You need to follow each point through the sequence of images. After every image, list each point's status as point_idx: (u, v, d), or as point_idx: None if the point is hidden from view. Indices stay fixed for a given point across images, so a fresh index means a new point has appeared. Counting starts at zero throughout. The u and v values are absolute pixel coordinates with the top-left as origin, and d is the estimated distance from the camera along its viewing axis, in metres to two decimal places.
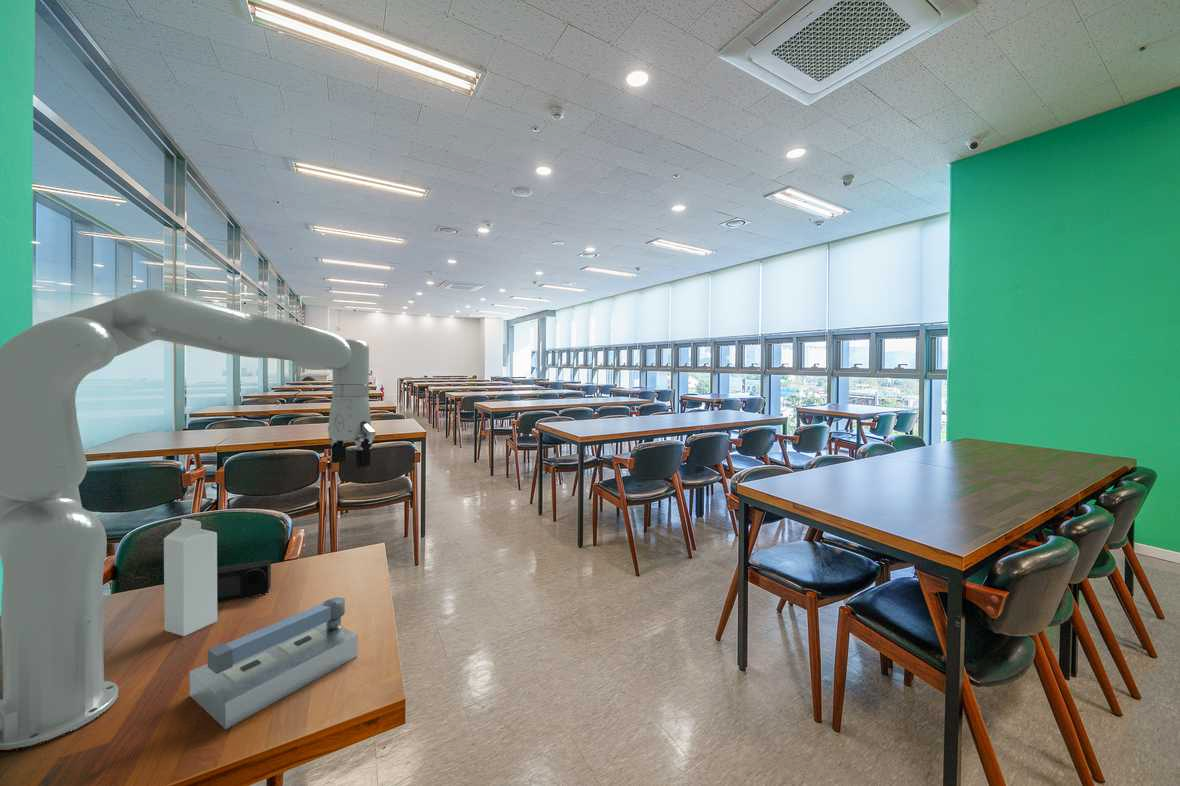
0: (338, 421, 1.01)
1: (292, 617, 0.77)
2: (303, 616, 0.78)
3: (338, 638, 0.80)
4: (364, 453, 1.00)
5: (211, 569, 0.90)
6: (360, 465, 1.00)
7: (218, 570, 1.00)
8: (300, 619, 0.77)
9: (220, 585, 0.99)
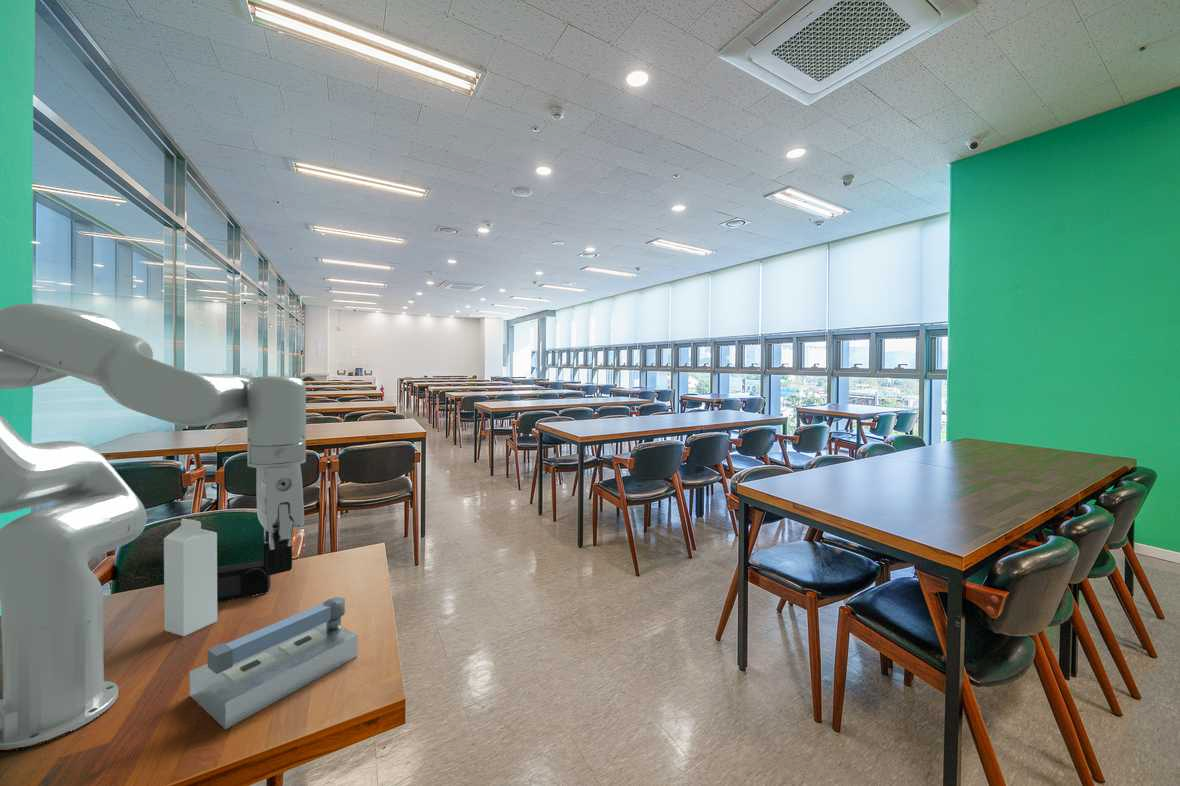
0: None
1: (292, 617, 0.77)
2: (303, 616, 0.78)
3: (338, 638, 0.80)
4: None
5: (211, 569, 0.90)
6: None
7: (218, 570, 1.00)
8: (300, 619, 0.77)
9: (220, 585, 0.99)
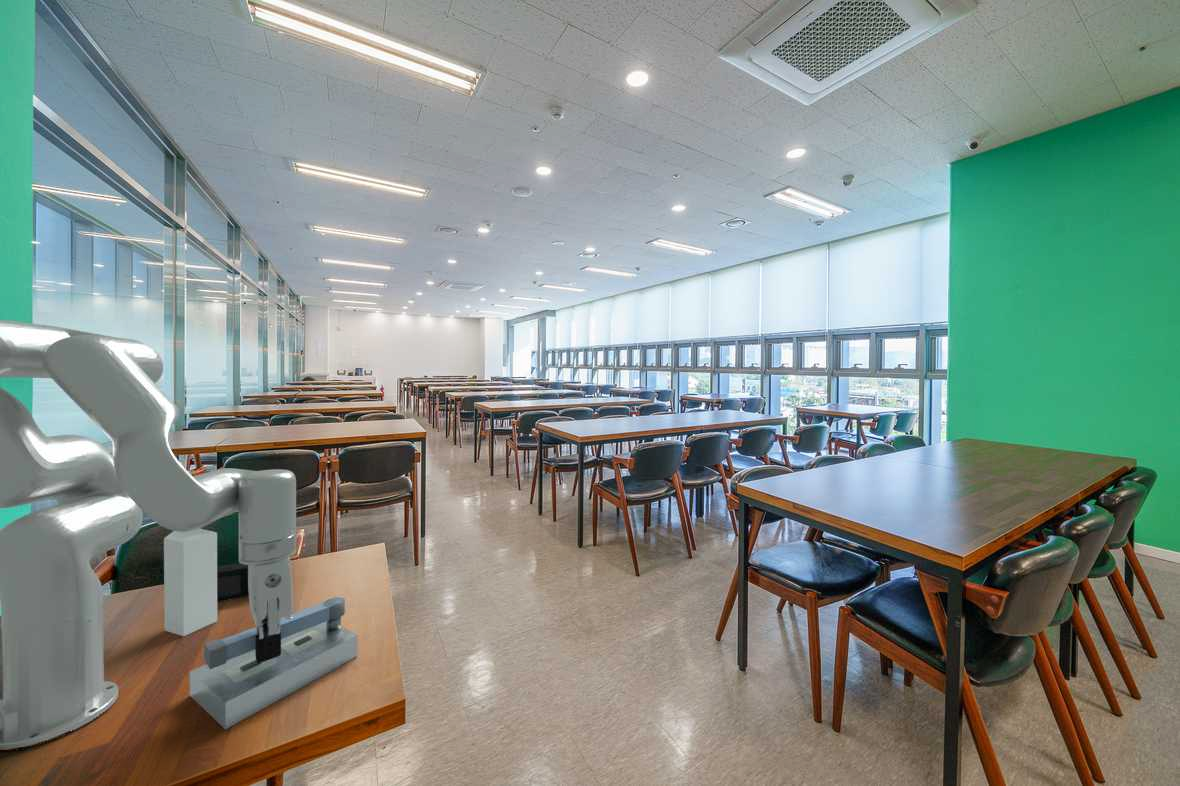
0: None
1: None
2: (301, 615, 0.78)
3: (338, 638, 0.80)
4: None
5: (211, 569, 0.90)
6: None
7: (218, 569, 1.00)
8: (297, 618, 0.77)
9: (220, 584, 0.99)
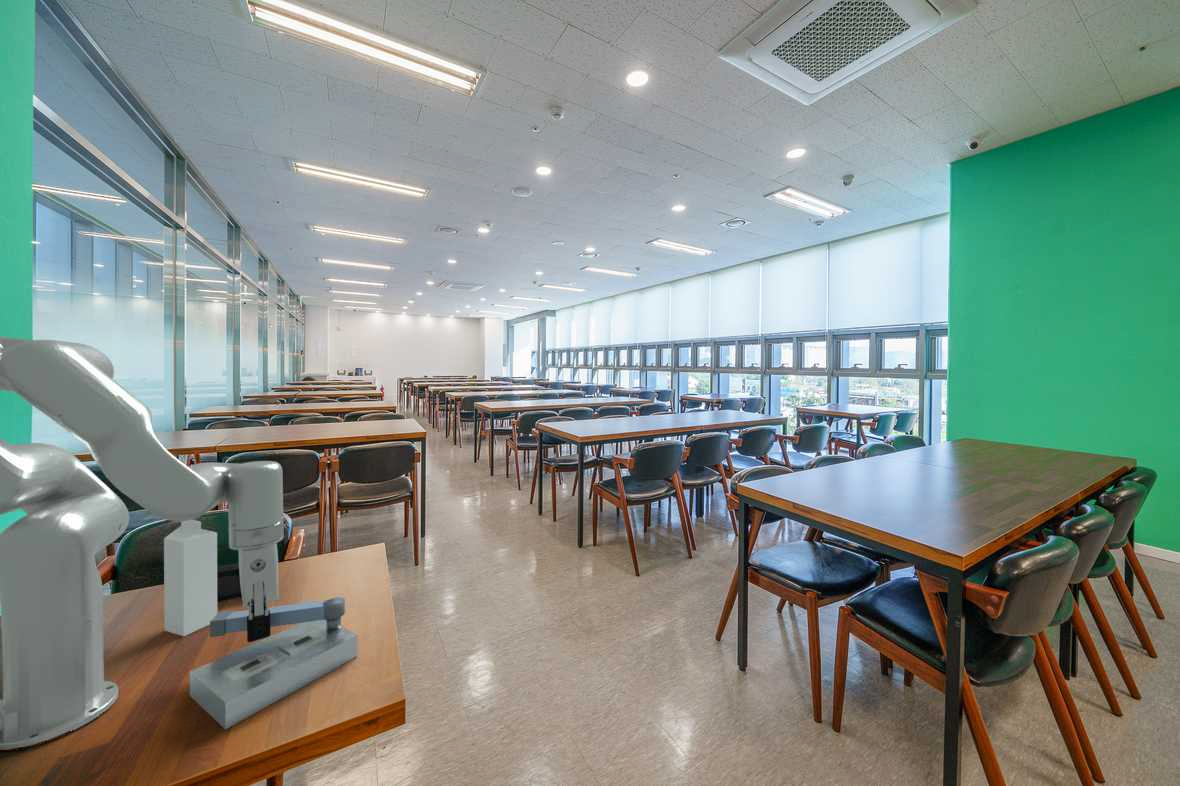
0: None
1: (292, 605, 0.81)
2: (298, 608, 0.80)
3: (338, 638, 0.80)
4: None
5: (211, 569, 0.90)
6: None
7: (218, 569, 1.01)
8: (292, 610, 0.80)
9: (220, 584, 1.00)
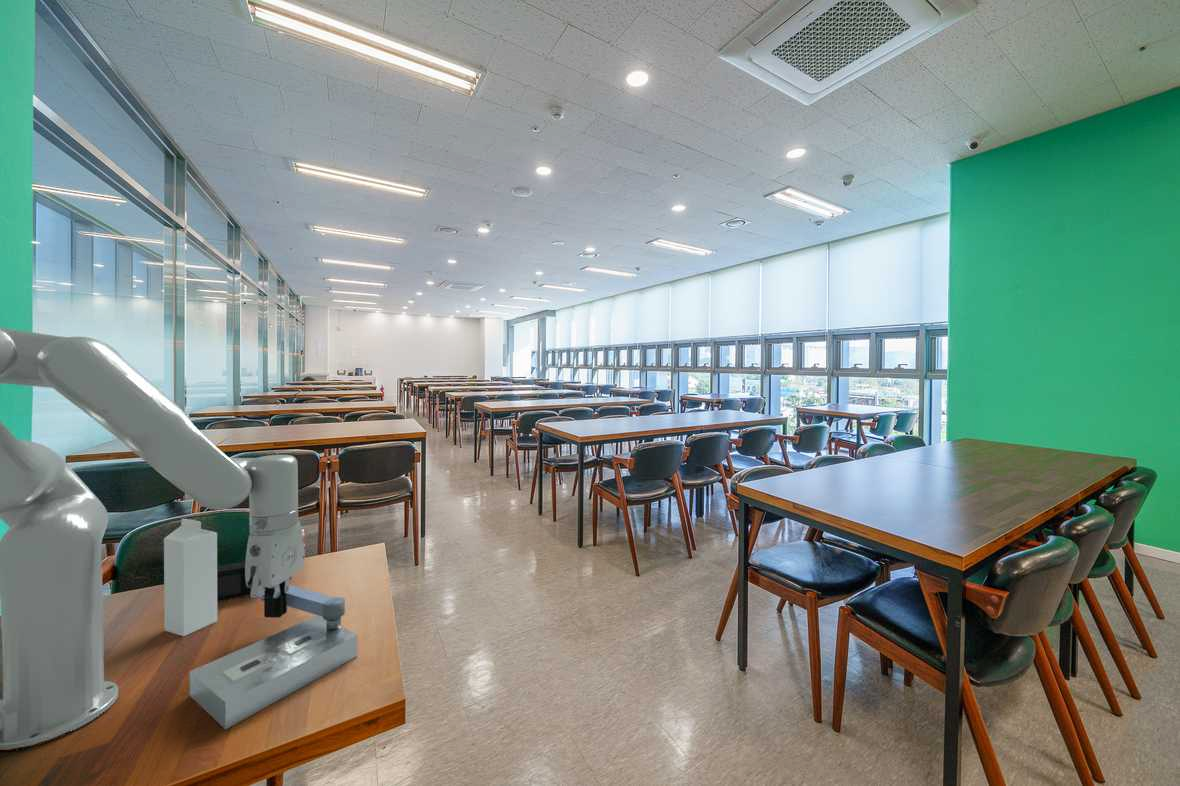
0: (288, 556, 0.83)
1: (312, 593, 0.86)
2: (309, 597, 0.84)
3: (338, 638, 0.80)
4: None
5: (211, 569, 0.90)
6: None
7: (218, 569, 1.01)
8: (305, 598, 0.84)
9: (220, 584, 1.00)
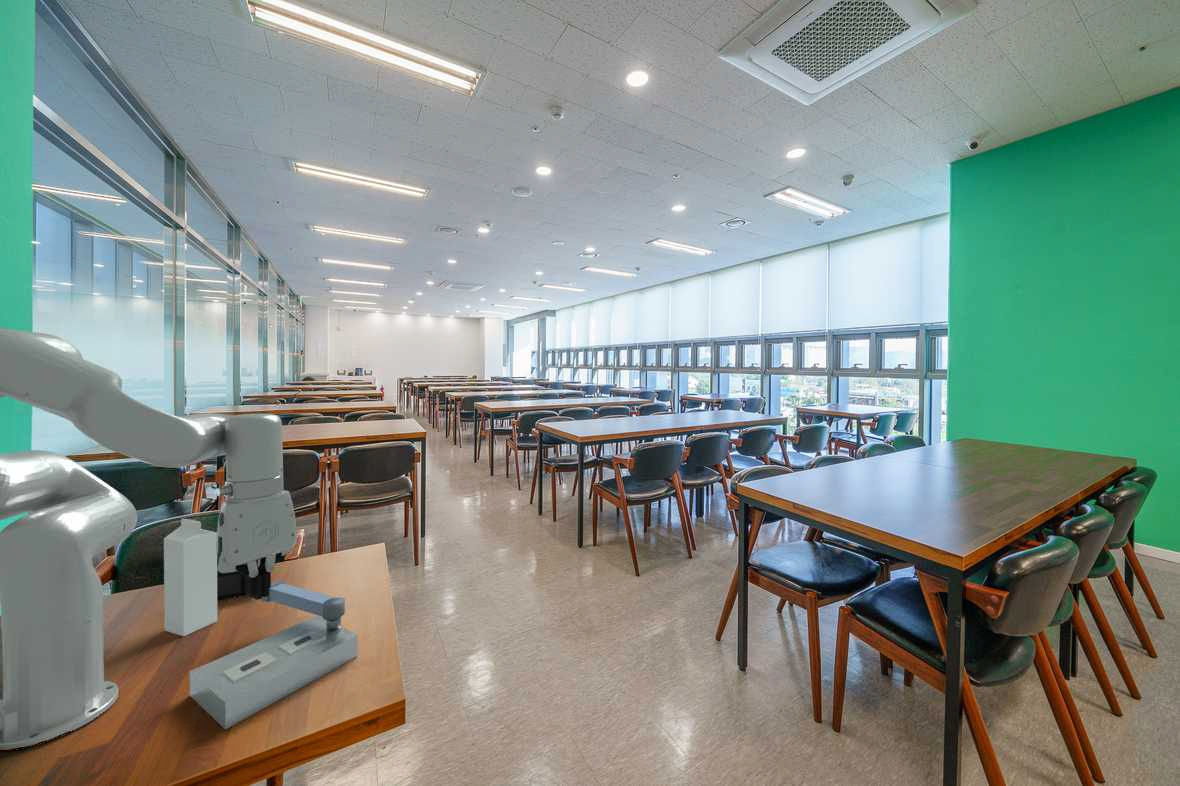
0: (263, 531, 0.71)
1: (312, 593, 0.86)
2: (309, 597, 0.84)
3: (338, 638, 0.80)
4: None
5: (211, 569, 0.90)
6: None
7: None
8: (305, 598, 0.84)
9: (220, 583, 1.00)
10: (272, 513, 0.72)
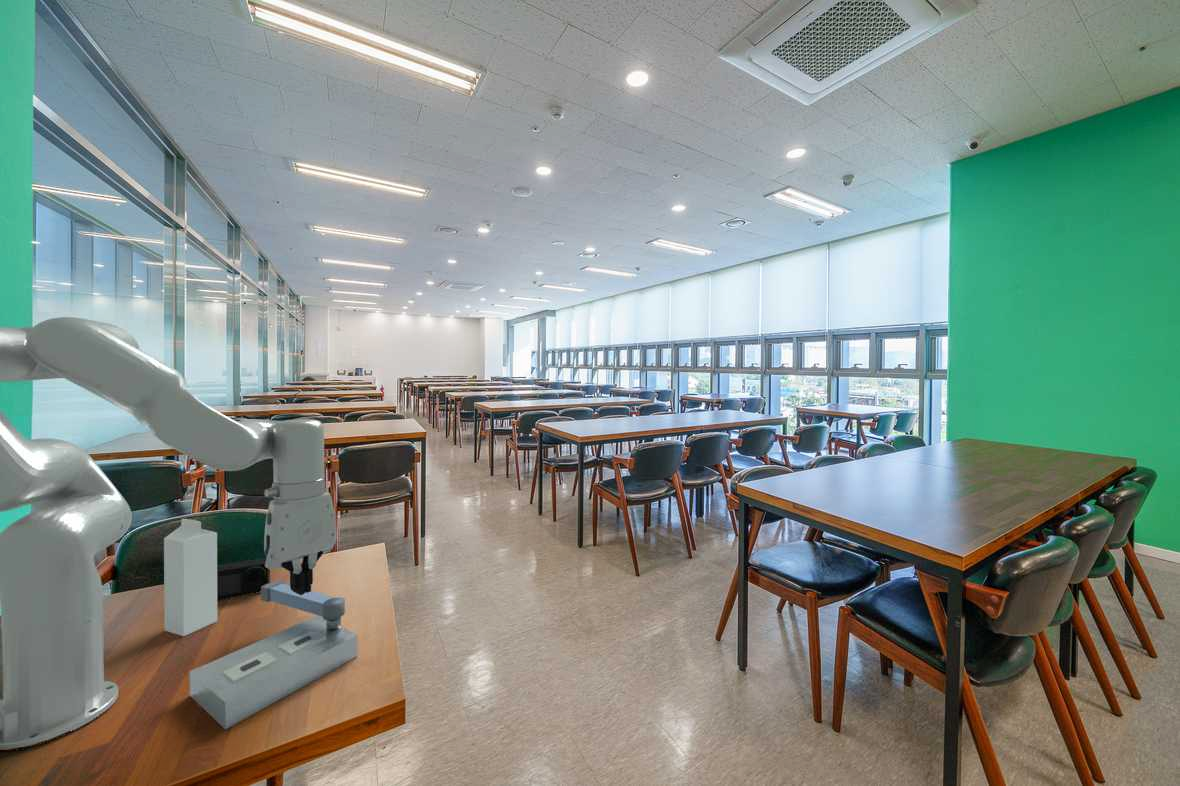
0: (307, 530, 0.76)
1: (312, 593, 0.86)
2: (309, 597, 0.84)
3: (338, 638, 0.80)
4: None
5: (211, 569, 0.90)
6: None
7: (218, 568, 1.01)
8: (305, 598, 0.84)
9: (220, 583, 1.00)
10: (314, 513, 0.77)
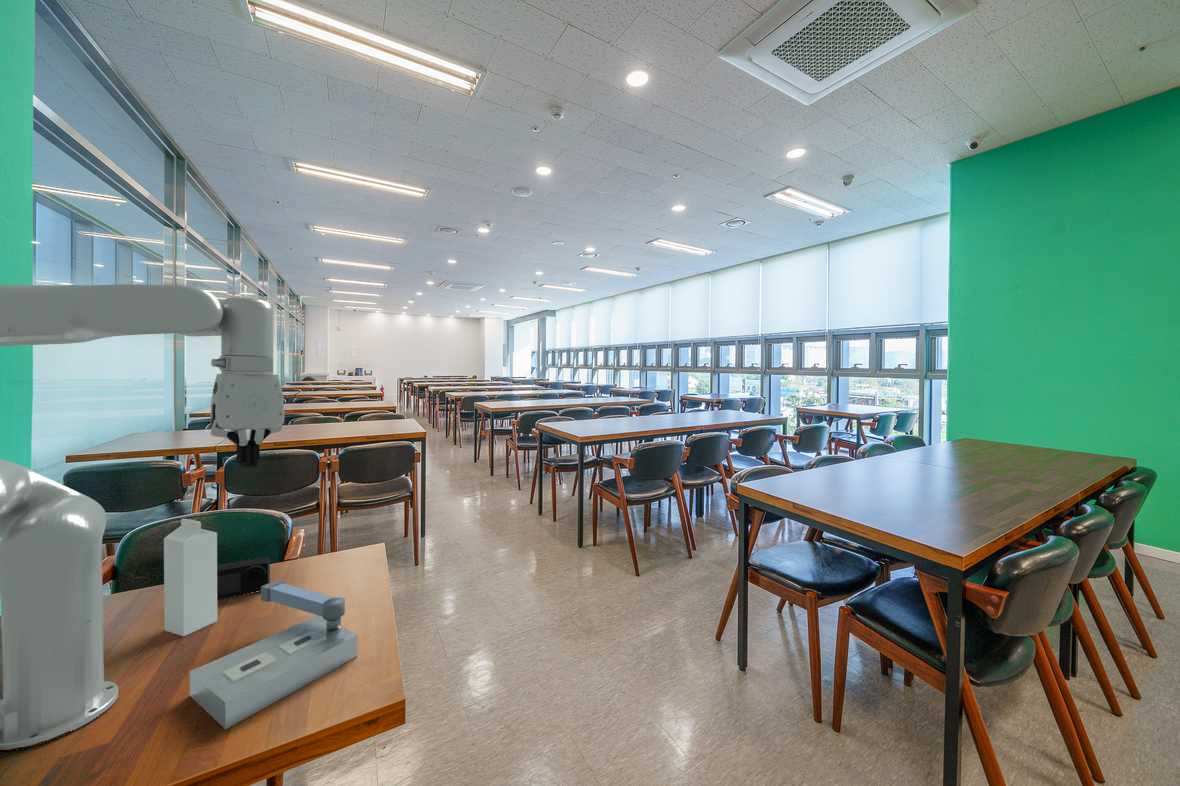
0: (253, 404, 0.78)
1: (312, 593, 0.86)
2: (309, 597, 0.84)
3: (338, 638, 0.80)
4: None
5: (211, 569, 0.90)
6: None
7: (218, 568, 1.01)
8: (305, 598, 0.84)
9: (220, 583, 1.00)
10: (261, 389, 0.79)
